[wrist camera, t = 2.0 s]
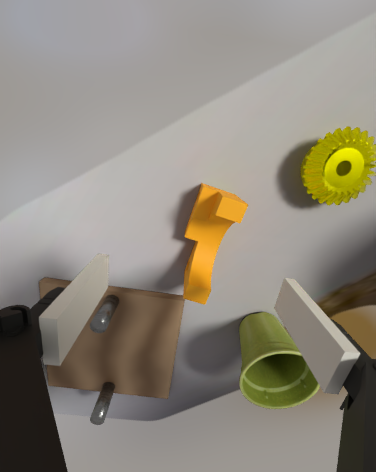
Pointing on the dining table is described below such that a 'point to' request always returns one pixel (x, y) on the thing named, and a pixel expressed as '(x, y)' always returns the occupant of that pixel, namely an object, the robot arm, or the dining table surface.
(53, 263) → the dining table surface
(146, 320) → the base plate
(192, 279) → the pipe clamp
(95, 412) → the locating stubs
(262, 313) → the plant pot
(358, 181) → the gear
